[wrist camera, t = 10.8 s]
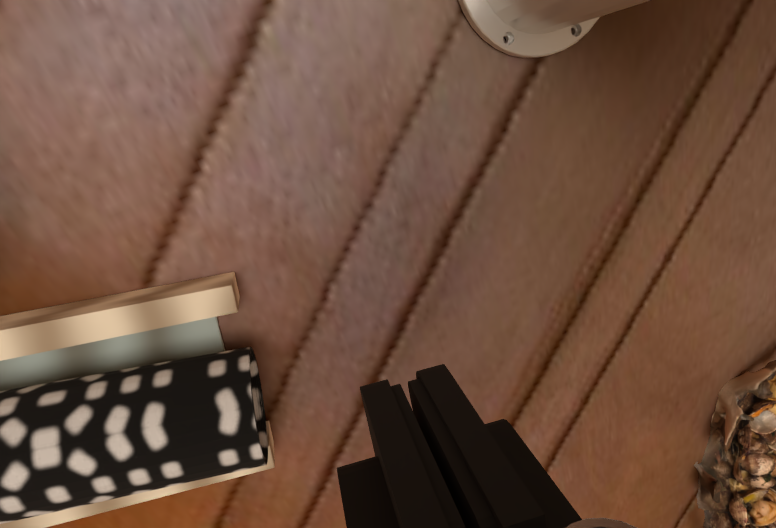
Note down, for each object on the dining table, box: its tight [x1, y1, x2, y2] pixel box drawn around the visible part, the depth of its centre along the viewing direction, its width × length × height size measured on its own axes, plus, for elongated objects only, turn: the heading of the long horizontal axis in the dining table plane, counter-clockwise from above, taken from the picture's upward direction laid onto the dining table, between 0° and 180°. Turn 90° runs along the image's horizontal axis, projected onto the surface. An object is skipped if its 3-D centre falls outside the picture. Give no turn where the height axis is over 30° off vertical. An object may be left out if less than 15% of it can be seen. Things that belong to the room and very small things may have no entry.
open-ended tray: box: [0, 272, 275, 528], centre depth 36 cm, size 26×15×5 cm, turn 98°
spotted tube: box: [0, 347, 268, 524], centre depth 35 cm, size 8×8×20 cm
